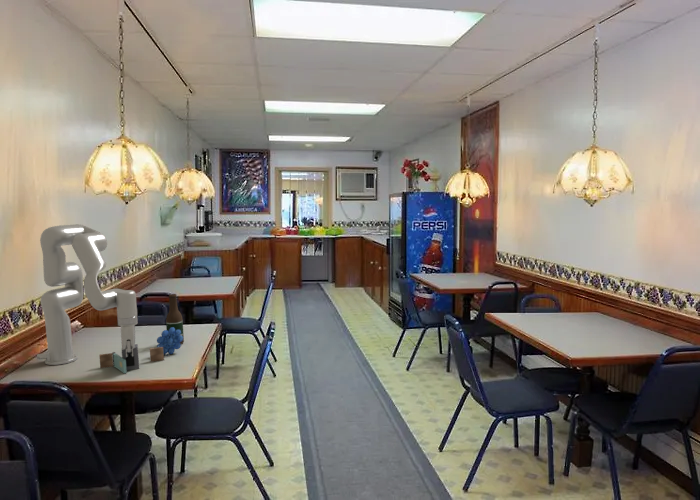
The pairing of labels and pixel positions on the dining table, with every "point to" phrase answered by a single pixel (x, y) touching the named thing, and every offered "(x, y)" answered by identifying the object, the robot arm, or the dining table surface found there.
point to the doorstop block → (136, 358)
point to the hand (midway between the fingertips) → (130, 363)
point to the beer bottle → (174, 316)
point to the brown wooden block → (107, 359)
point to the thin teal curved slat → (120, 363)
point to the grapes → (170, 340)
